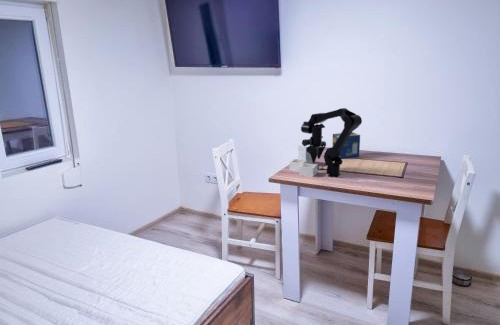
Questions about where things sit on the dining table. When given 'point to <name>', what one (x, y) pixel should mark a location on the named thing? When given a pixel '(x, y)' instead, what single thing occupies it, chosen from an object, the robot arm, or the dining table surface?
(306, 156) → the small box
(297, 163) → the pot
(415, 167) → the dining table surface
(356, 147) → the protein box
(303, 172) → the pot
